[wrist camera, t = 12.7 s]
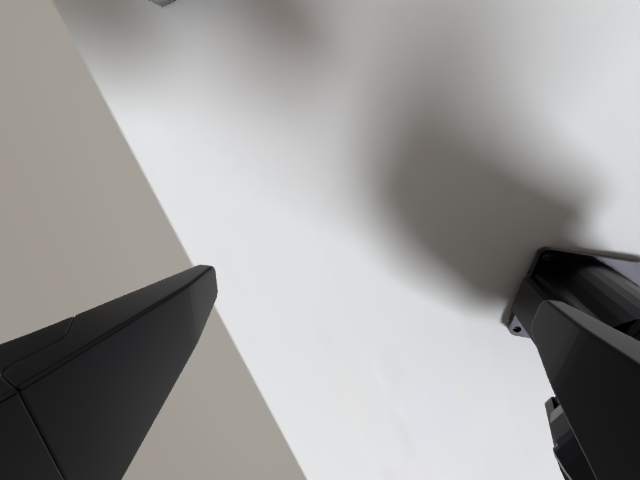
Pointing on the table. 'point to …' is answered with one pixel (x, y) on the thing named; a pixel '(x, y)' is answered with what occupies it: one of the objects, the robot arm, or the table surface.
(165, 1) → the tray
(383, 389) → the table surface
